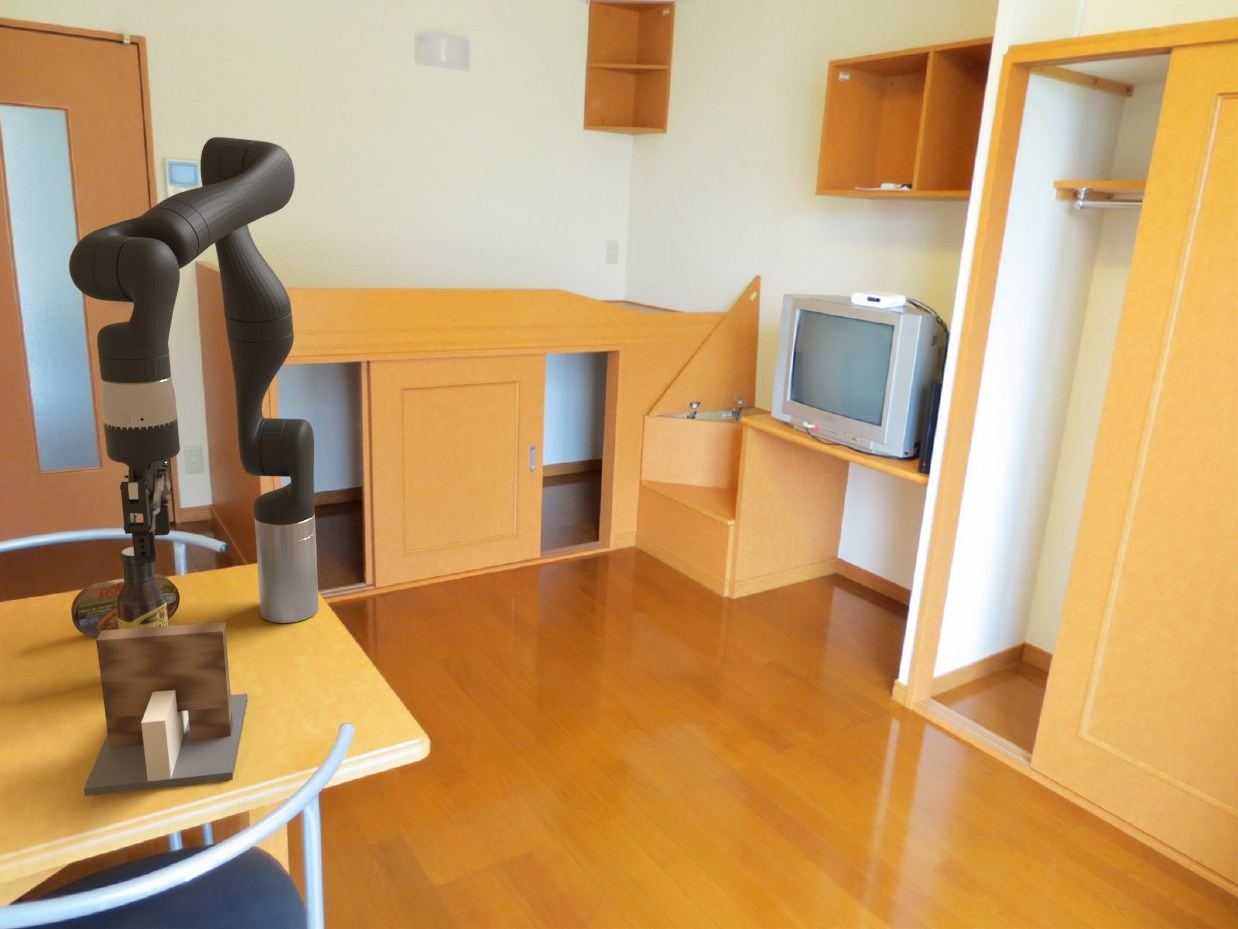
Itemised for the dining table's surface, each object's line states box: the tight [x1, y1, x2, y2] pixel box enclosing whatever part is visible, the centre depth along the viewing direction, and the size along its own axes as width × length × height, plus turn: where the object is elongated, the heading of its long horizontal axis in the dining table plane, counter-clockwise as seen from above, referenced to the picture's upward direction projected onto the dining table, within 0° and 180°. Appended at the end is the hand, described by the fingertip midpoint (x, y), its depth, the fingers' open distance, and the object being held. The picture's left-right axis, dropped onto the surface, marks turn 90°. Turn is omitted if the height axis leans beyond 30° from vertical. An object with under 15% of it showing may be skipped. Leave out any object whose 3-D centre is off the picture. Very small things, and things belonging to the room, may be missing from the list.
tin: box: [70, 573, 181, 639], centre depth 143 cm, size 15×3×8 cm, turn 126°
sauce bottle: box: [117, 546, 169, 629], centre depth 128 cm, size 7×6×20 cm
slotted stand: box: [83, 690, 249, 796], centre depth 115 cm, size 18×16×9 cm
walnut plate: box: [95, 621, 233, 748], centre depth 114 cm, size 14×2×15 cm, turn 106°
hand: (153, 547), depth 109 cm, fingers open, 8 cm apart
